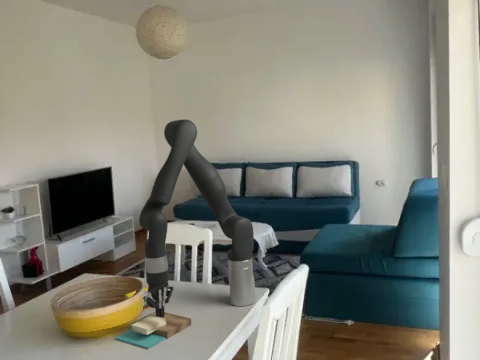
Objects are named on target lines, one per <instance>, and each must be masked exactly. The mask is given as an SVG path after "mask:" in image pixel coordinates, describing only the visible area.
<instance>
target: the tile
mask: <svg viewBox="0 0 480 360" xmlns="http://www.w3.org/2000/svg"><path fill="white" fill-rule="evenodd" d="M164 325H166V319H165V318H161V317H157V316H153V315H150V316H148V317H146V318H144V319H142V320H140V321H138V322H136V323H134V324H133V323H132V324H131V325H130V326H131V329H132V331H134V332H138V333H141V334H145V335H148V334H150V333H152V332H154V331H155V330H157V329H159V328H161V327H163V326H164Z"/></svg>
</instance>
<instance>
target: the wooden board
mask: <svg viewBox="0 0 480 360" xmlns="http://www.w3.org/2000/svg"><path fill="white" fill-rule="evenodd" d="M150 315H153V316H156V310H155V311H153V312H151V313H150V314H147V315H145V316H143V317H142V318H140V319H138V320H136V321H133V322H132V324H134V323H136V322H138V321H140V320H142V319H144V318H146V317H148V316H150ZM163 318H165V319H166V325H164V326H163V327H161V328H159V329H157V330H155V331H154V332H152V334H156V335H159V336H163V337H166V339H167V340H168V339H170V338H171V337H172V336H175V335H177V334H178V333H179V332H180V333H181V331H183V330H185V329H186V328H188V327H190V326H192V318H190V317H186V316H182V315H178V314H175V313H174V314H173V313H169V312H166V311H165V315H164V317H163Z"/></svg>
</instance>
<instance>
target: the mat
mask: <svg viewBox="0 0 480 360" xmlns="http://www.w3.org/2000/svg"><path fill="white" fill-rule="evenodd" d="M114 339H115V340H116V341H119V342H120V341H121V342H124V343H126V344H130V345H133V346H137V347H141V348H143V349H146V350H149V349H151V348H152V347H154V346H156V345H158V344H159V343H160V342H163V341H165V340H166V339H167V338H166V337H163V336H159V335H156V334H152V333H150V334H148V335H145V334H141V333H138V332H134V331H132V328H131V329H130V330H127V331H125V332H124V333H122V334H120V335H117V336H116V337H115V338H114Z"/></svg>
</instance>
